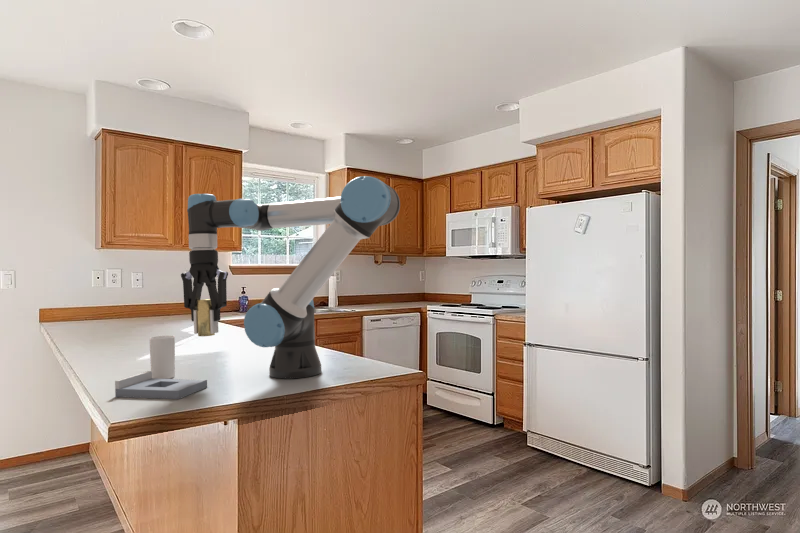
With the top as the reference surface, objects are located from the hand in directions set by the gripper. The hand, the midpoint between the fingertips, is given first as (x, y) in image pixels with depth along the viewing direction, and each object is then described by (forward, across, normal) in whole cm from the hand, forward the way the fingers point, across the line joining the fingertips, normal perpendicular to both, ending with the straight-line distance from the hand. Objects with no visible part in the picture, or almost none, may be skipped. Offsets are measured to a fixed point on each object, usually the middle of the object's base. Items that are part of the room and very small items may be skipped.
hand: (206, 332), depth 143 cm
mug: (+14, +17, -5) cm, 23 cm away
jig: (+14, +5, +12) cm, 19 cm away
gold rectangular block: (+1, 0, 0) cm, 1 cm away
